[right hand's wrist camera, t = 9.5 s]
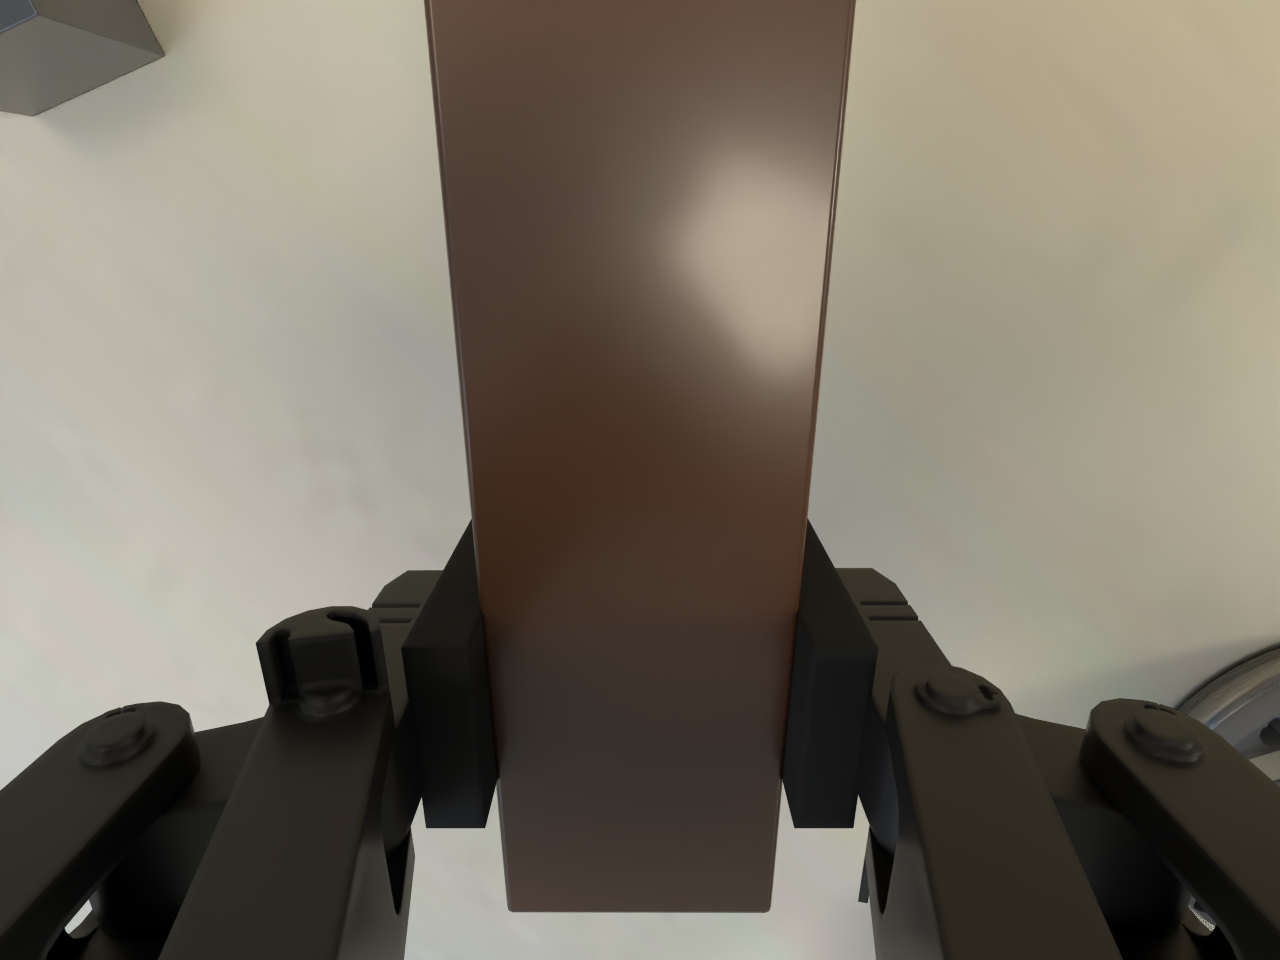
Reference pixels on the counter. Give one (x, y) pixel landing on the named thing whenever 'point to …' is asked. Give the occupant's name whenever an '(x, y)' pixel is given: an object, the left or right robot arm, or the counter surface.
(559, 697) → the walnut bar
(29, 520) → the counter surface
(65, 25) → the slate cube
